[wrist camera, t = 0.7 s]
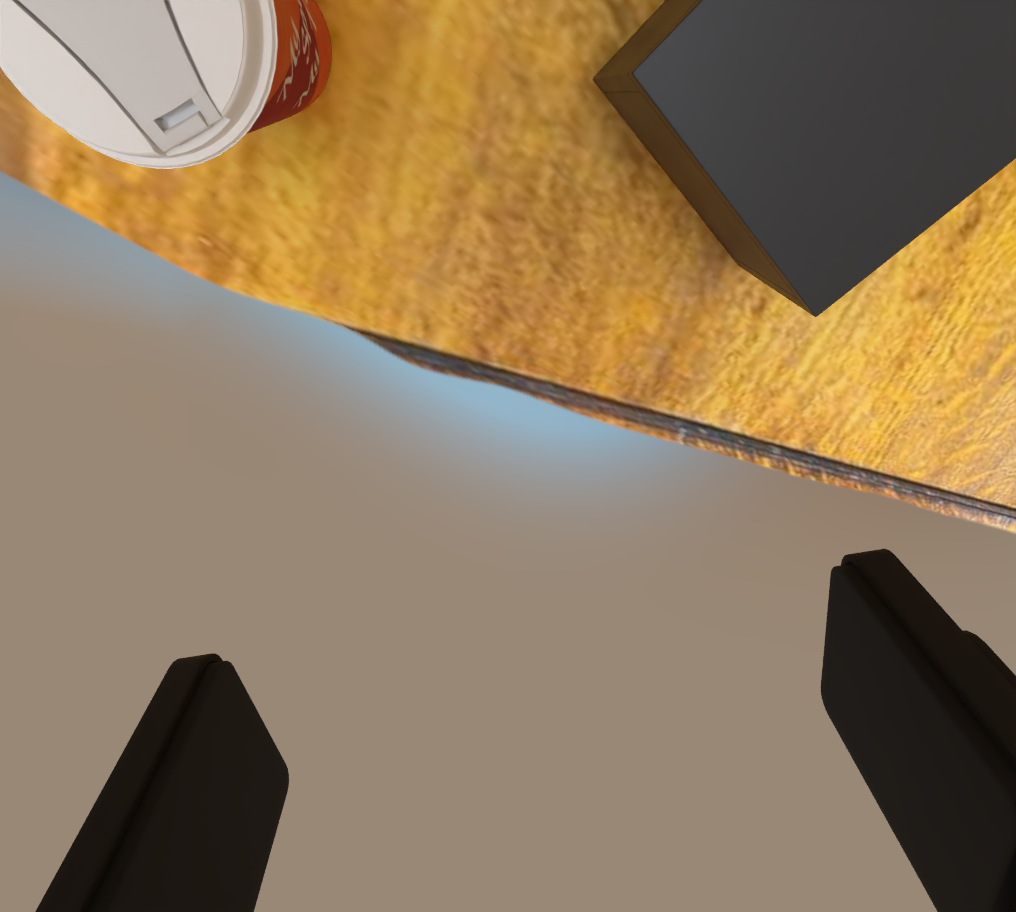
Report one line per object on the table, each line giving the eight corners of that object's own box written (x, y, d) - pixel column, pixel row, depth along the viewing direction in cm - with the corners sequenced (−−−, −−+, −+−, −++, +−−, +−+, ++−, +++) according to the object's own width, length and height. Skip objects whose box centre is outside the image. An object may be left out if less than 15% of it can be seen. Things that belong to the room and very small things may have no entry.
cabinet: (858, -206, 27) (1028, -341, 19) (988, 51, 32) (1170, 35, 23) (592, 78, 32) (631, 73, 23) (739, 266, 36) (816, 317, 28)
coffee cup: (389, 92, 32) (322, 91, 18) (247, 171, 33) (93, 221, 20) (289, -111, 28) (116, -295, 15) (135, -12, 29) (-147, -98, 16)
